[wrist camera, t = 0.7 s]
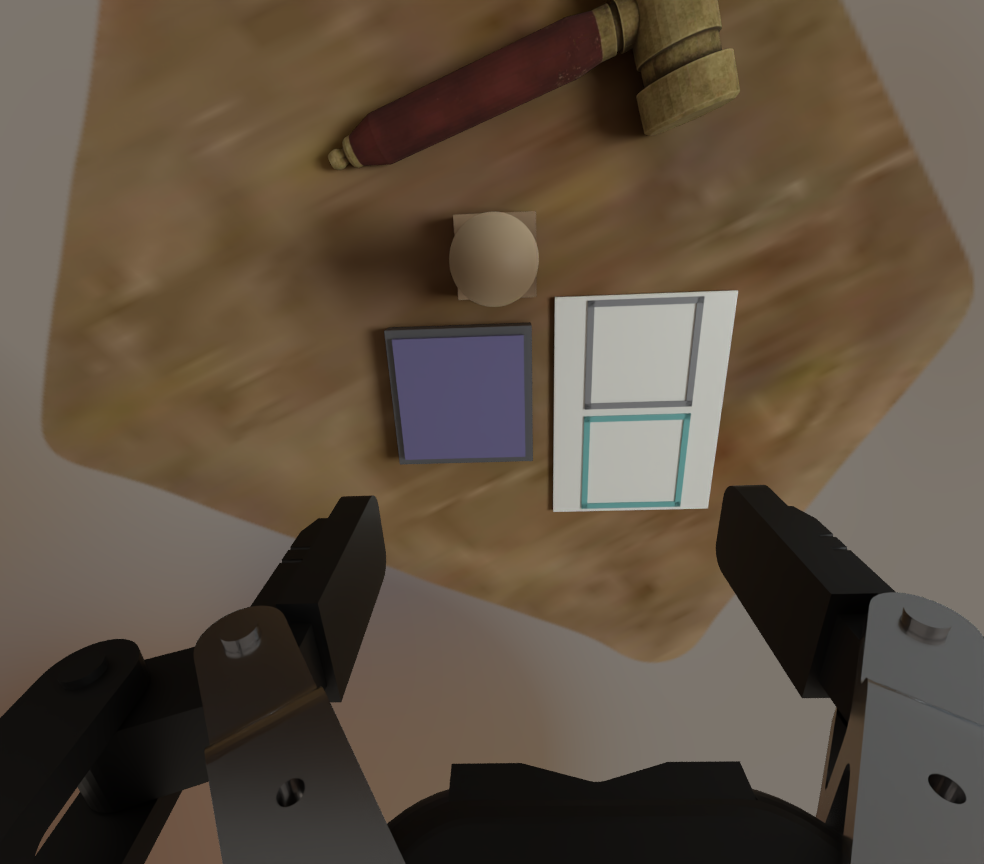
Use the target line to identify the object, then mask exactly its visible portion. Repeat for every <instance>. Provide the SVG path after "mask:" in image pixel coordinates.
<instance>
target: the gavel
mask: <svg viewBox="0 0 984 864" xmlns="http://www.w3.org/2000/svg"><path fill="white" fill-rule="evenodd" d="M721 29H722V24H721V18H720V12H719V6H718V0H611V5H610V6H608V4H607V3H606V4H604V5H602V6H599V7H597V8H595V9H593V10H591V11H588V12H584V13H580V14H577V15H573V16H569V17H565V18H563V19H561V20H559V21H557V22H555V23H553V24H551V25H549V26H547V27H545V28H543V29H540V30H538V31H536V32H534V33H532V34H530V35H528V36H526V37H524V38H522V39H520V40H518V41H516V42H514V43H512V44H510V45H508V46H506V47H504V48H502V49H500V50H498V51H496V52H493V53H491V54H489V55H487V56H485V57H483V58H481V59H479V60H477V61H475V62H473V63H471V64H469V65H467V66H465V67H463V68H461V69H459V70H457V71H455V72H453V73H451V74H449V75H446V76H444V77H442V78H440V79H438V80H436V81H434V82H432V83H430V84H428V85H426V86H424V87H422V88H420V89H418V90H416V91H414V92H412V93H410V94H408V95H406V96H404V97H402V98H399V99H397V100H395V101H393V102H391V103H389V104H387V105H385V106H383V107H381V108H379V109H377V110H375V111H373V112H371V113H369V114H368V115H367V116H366V117H365V118H364V119H363V120H362V121H361V123H360V124H359V125H358V126H357V127H356V128H355V129H354V130H353V132H352V133H351V134H350V135H349V136H347V137H345V138H344V139H343V142H342V143H343V148H342V149H334V150H332V151H331V152H330V153H329V155H328V158H329V161H330V164H331V165H332V167H333V168H334V169H336V170H342V169H344V168H345V167H346V166H347V164H349V163H351V164H352V165H353V166H354V167H357V168H360V167H362V166H368V165H386V164H393V163H395V162H397V161H399V160H402V159H404V158H406V157H408V156H410V155H413V154H415V153H417V152H419V151H421V150H423V149H426V148H428V147H430V146H432V145H434V144H436V143H439V142H441V141H443V140H445V139H447V138H450V137H452V136H454V135H456V134H458V133H460V132H463V131H465V130H467V129H469V128H471V127H473V126H476V125H478V124H480V123H482V122H484V121H487V120H489V119H491V118H493V117H495V116H497V115H500V114H502V113H504V112H506V111H508V110H510V109H513V108H515V107H517V106H519V105H521V104H524V103H526V102H528V101H530V100H532V99H534V98H537V97H539V96H541V95H543V94H545V93H548V92H550V91H552V90H554V89H556V88H558V87H561V86H563V85H565V84H567V83H569V82H571V81H574V80H576V79H578V78H580V77H581V76H583V75H584V74H585V73H587V72H588V71H590V70H591V69H593V68H594V67H596V66H597V65H598V64H600V63H601V62H604V61H606V60H608V59H610V58H612V57H614V56H616V55H617V51H619V52H620V53H621V54H622V53H625V52H627V51H629V50H631V49H632V50H633V55H634V59H635V64H636V68H637V71H638V72H641V75H642V80H643V84H644V89H643V90H642V91H641V92H639V94H638V95H637V96H636V99H637V103H638V108H639V112H640V117H641V121H642V126H643V130H644V134H646V135H649V136H653V135H657V134H660V133H663V132H665V131H668V130H670V129H672V128H675V127H677V126H680V125H682V124H685V123H687V122H689V121H692V120H694V119H696V118H699V117H701V116H703V115H705V114H707V113H709V112H711V111H713V110H715V109H717V108H719V107H721V106H723V105H725V104H727V103H729V102H730V101H732V100H733V99H735V97H736V96H737V95H738V93H739V92H740V87H739V81H738V74H737V68H736V62H735V56H734V49H725V50H722V48H721V42H720V36H719V31H720V30H721Z"/></svg>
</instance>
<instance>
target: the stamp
mask: <svg viewBox="0 0 984 864" xmlns="http://www.w3.org/2000/svg"><path fill="white" fill-rule="evenodd" d="M453 222H454V239H453V241H452V244H451V248H450V253H449V265H450V271H451V275H452V277H453V280H454V282H455V284H456V286H457V287H458V300H472V301H473V302H475V303H478V304H480V305H483V306H489V307H499V306H504V305H508V304H510V303H513V302H514V301H516V300H518V299H519V298H526V297H537V296H536V274H537V270H538V264H539V254H538V248H537V244H536V211H527V212H504V213H502V212H485V213H481V214H458V215H453Z"/></svg>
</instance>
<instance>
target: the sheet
mask: <svg viewBox="0 0 984 864" xmlns="http://www.w3.org/2000/svg"><path fill="white" fill-rule="evenodd" d="M737 295H738V290H727V291H700V292H674V293H647V294H621V295H595V296H568V297H555V304H554V435H553V512H566V511H611V510H655V509H700V508H708V503H709V496H710V488H711V481H712V474H713V467H714V460H715V453H716V446H717V438H718V431H719V424H720V417H721V410H722V403H723V396H724V388H725V381H726V374H727V367H728V360H729V353H730V345H731V338H732V331H733V324H734V317H735V310H736V303H737Z"/></svg>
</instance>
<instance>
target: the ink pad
mask: <svg viewBox="0 0 984 864" xmlns="http://www.w3.org/2000/svg"><path fill="white" fill-rule="evenodd" d="M384 334H385V342H386V351H387V359H388V368H389V376H390V384H391V393H392V401H393V410H394V418H395V427H396V435H397V444H398V452H399V460H400V464H430V463H469V462H507V461H533V438H532V330H531V323H504V324H476V325H448V326H421V327H393V328H387V329H386V330H385V331H384Z"/></svg>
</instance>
